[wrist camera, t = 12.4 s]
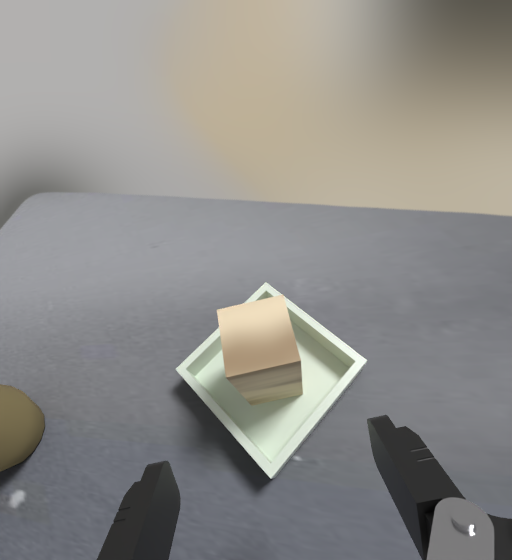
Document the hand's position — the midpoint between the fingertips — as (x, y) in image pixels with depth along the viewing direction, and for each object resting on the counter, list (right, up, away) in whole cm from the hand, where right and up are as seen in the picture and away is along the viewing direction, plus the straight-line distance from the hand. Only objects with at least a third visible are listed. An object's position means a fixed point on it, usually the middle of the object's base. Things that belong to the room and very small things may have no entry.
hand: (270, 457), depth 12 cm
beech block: (+1, -2, +19) cm, 19 cm away
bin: (+1, -3, +19) cm, 19 cm away
